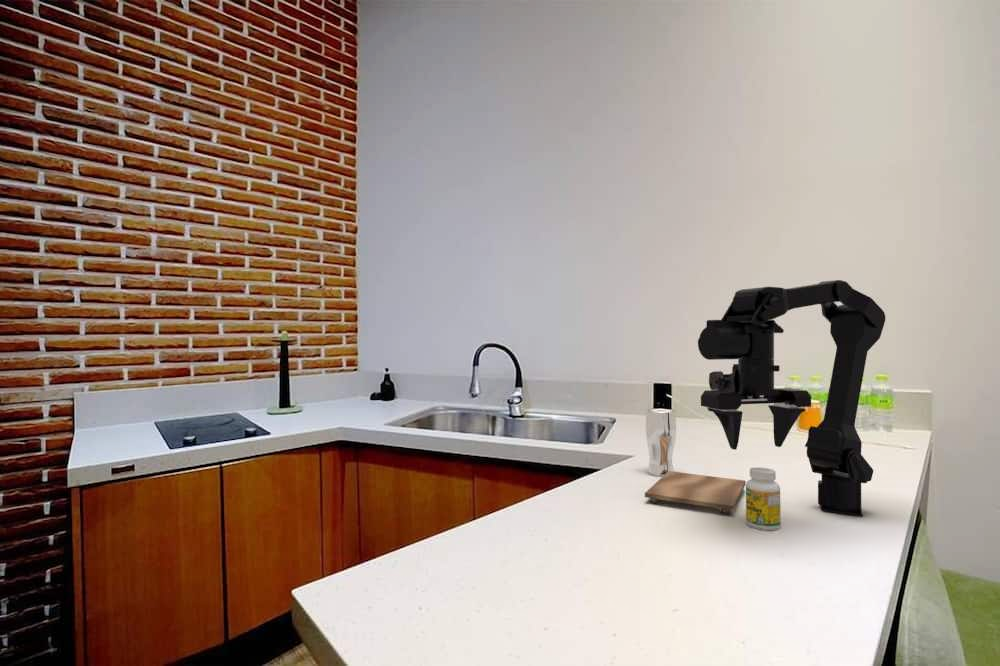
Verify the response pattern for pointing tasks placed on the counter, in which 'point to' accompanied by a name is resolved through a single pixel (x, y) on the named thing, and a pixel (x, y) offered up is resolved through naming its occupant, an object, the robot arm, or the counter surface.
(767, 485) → the supplement bottle
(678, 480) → the peg shelf
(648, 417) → the beer glass
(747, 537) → the counter surface
